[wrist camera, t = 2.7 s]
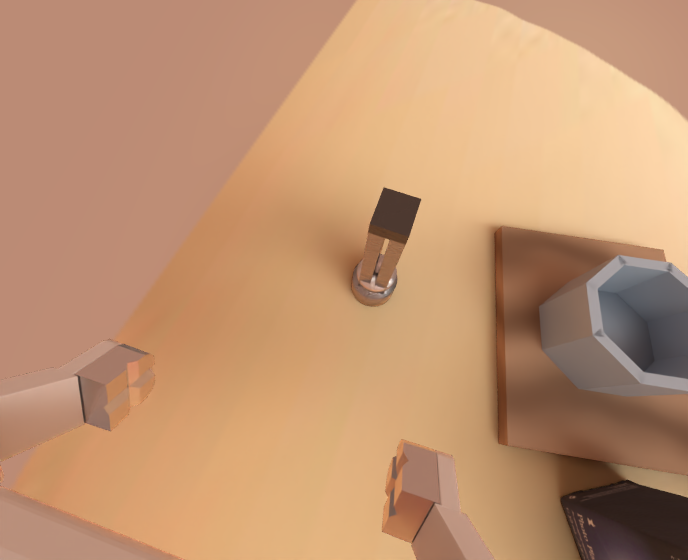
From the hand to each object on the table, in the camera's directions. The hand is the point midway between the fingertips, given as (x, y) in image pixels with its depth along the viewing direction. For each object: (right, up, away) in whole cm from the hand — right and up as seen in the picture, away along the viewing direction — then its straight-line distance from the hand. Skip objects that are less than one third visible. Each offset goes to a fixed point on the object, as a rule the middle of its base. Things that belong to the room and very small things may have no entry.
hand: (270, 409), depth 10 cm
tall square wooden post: (+5, +3, +22) cm, 22 cm away
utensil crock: (+25, -1, +19) cm, 31 cm away
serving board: (+24, -2, +20) cm, 32 cm away
